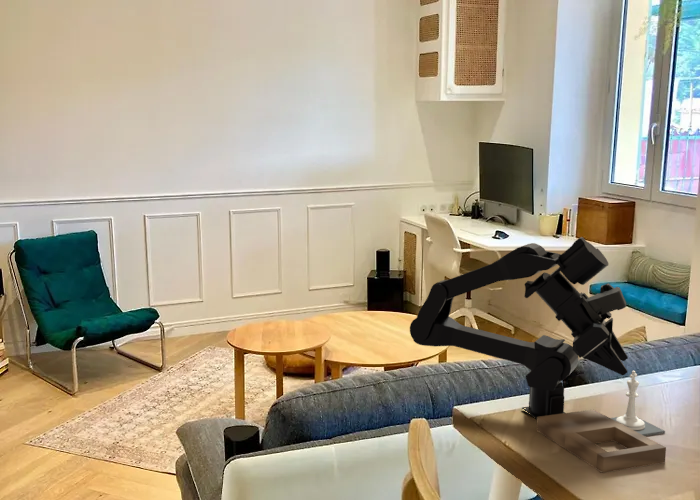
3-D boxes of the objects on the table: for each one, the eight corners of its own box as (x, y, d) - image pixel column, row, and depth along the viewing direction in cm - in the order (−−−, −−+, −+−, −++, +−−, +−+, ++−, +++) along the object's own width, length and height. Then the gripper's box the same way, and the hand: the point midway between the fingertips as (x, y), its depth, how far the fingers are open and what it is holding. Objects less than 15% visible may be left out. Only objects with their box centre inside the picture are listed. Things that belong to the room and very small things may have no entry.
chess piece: (650, 425, 125) (654, 371, 124) (635, 432, 122) (639, 377, 121) (624, 417, 129) (628, 365, 127) (610, 423, 126) (613, 370, 124)
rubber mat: (597, 421, 128) (597, 419, 128) (632, 416, 130) (632, 414, 130) (628, 438, 120) (628, 436, 120) (664, 433, 123) (665, 430, 123)
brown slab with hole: (536, 430, 123) (537, 416, 123) (592, 422, 127) (593, 409, 127) (602, 472, 107) (603, 457, 107) (664, 462, 111) (666, 447, 111)
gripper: (597, 280, 116) (665, 352, 113) (601, 264, 133) (660, 326, 130) (545, 321, 120) (610, 392, 117) (556, 301, 137) (613, 362, 134)
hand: (625, 366), depth 125 cm, fingers open, 9 cm apart
